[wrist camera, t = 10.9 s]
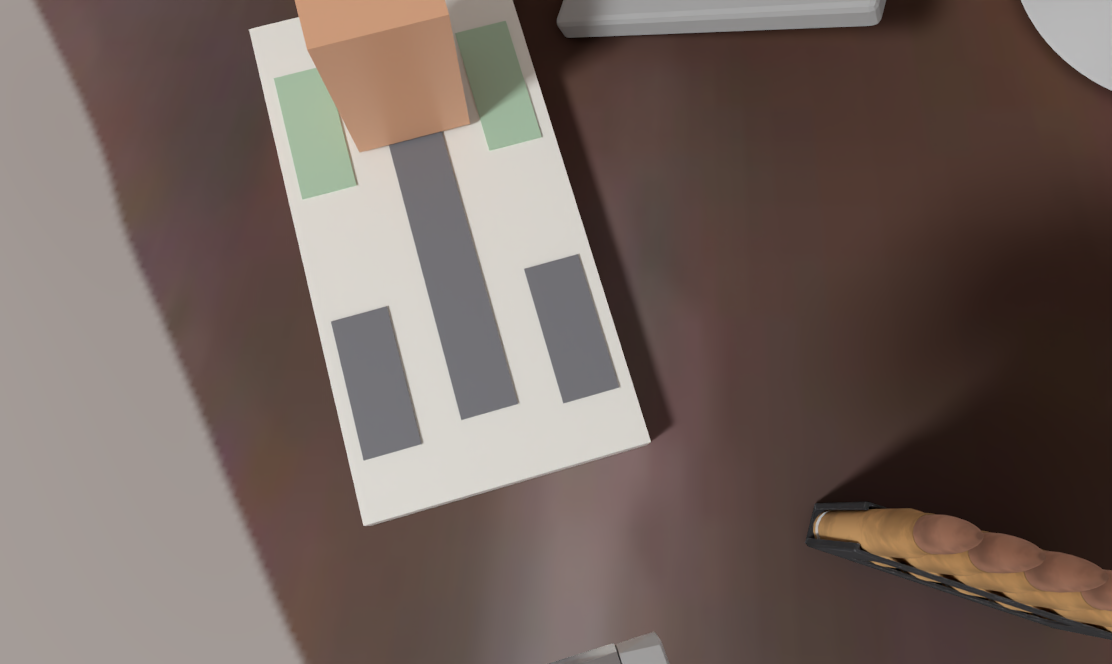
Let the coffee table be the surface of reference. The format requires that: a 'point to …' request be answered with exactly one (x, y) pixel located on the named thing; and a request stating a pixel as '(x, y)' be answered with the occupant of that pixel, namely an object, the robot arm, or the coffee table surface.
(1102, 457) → the coffee table surface
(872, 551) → the ammunition clip
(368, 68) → the tan rectangular block
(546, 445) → the switch board
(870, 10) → the light switch
